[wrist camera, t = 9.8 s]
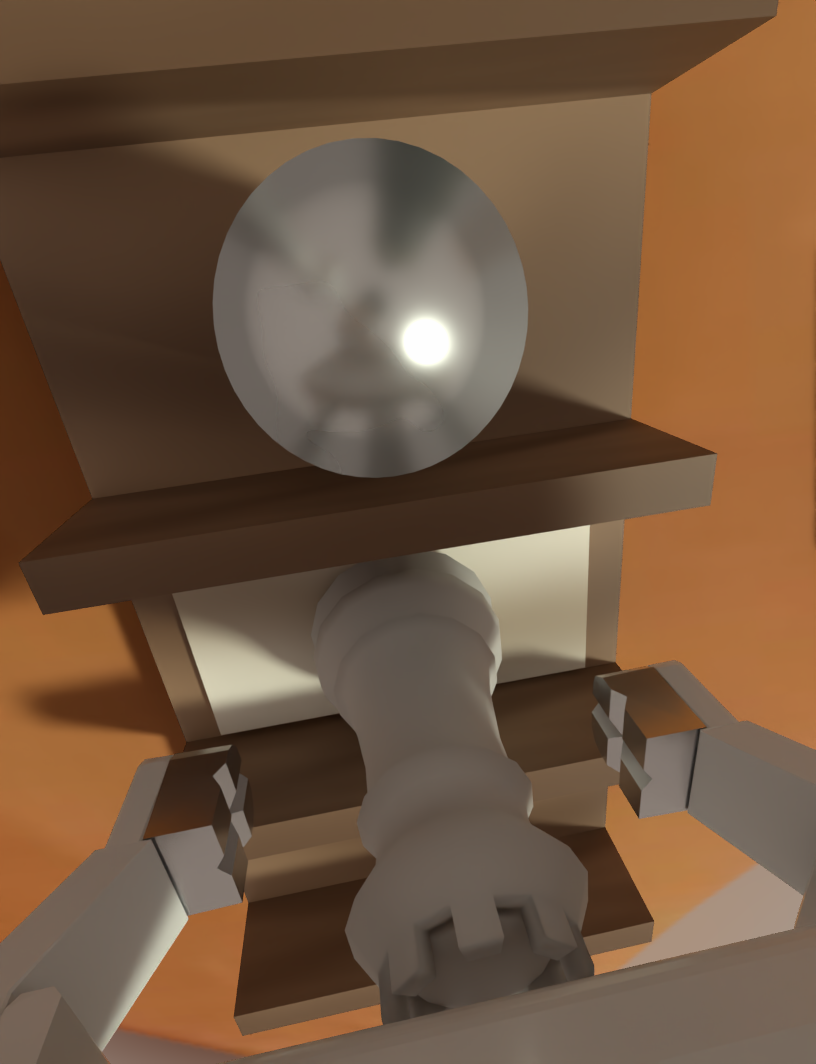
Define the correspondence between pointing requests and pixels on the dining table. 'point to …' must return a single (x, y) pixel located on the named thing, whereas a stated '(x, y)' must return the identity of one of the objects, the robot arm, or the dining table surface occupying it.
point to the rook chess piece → (442, 796)
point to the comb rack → (298, 486)
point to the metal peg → (370, 307)
